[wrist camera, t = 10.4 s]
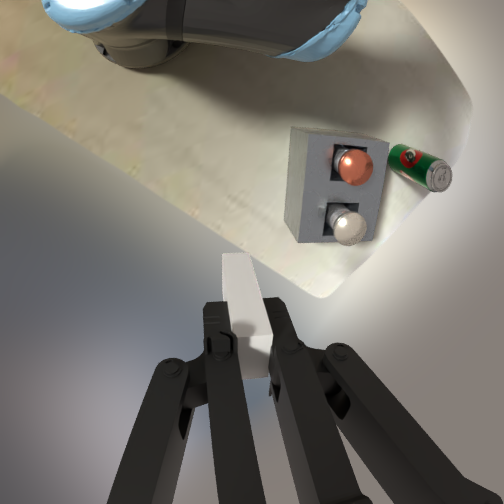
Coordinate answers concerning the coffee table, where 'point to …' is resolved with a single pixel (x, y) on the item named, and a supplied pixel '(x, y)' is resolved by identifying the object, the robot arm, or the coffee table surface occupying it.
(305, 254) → the coffee table surface
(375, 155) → the housing
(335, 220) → the white light bulb
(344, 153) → the orange light bulb
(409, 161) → the soda can
